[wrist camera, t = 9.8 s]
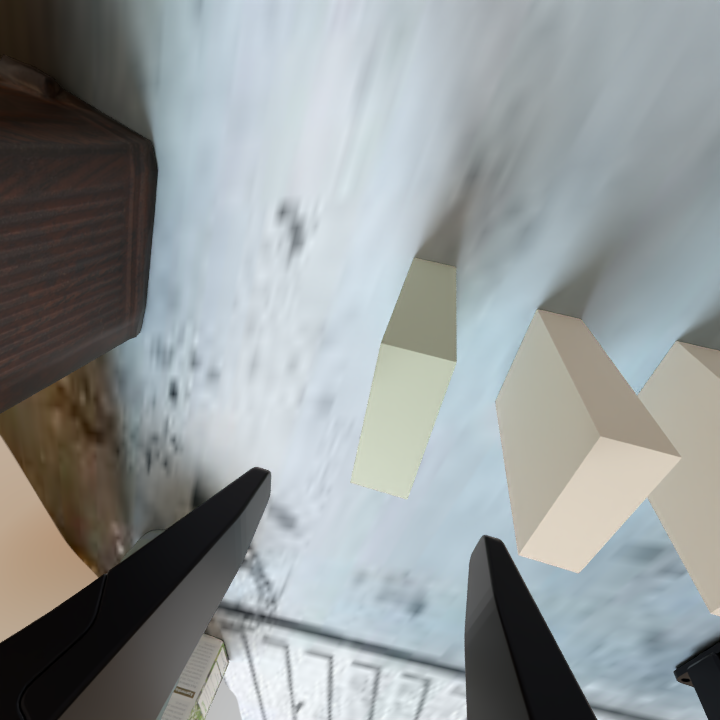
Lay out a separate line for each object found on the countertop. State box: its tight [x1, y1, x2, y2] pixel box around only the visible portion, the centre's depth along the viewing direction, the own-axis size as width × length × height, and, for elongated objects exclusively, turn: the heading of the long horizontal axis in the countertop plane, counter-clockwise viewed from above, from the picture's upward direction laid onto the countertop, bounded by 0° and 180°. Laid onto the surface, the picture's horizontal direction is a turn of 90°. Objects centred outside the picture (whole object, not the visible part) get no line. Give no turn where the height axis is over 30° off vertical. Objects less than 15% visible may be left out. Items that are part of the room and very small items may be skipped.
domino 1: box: [350, 258, 457, 499], centre depth 13 cm, size 2×5×8 cm, turn 171°
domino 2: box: [495, 309, 682, 573], centre depth 13 cm, size 2×5×8 cm, turn 171°
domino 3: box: [637, 341, 720, 616], centre depth 12 cm, size 2×5×8 cm, turn 171°
